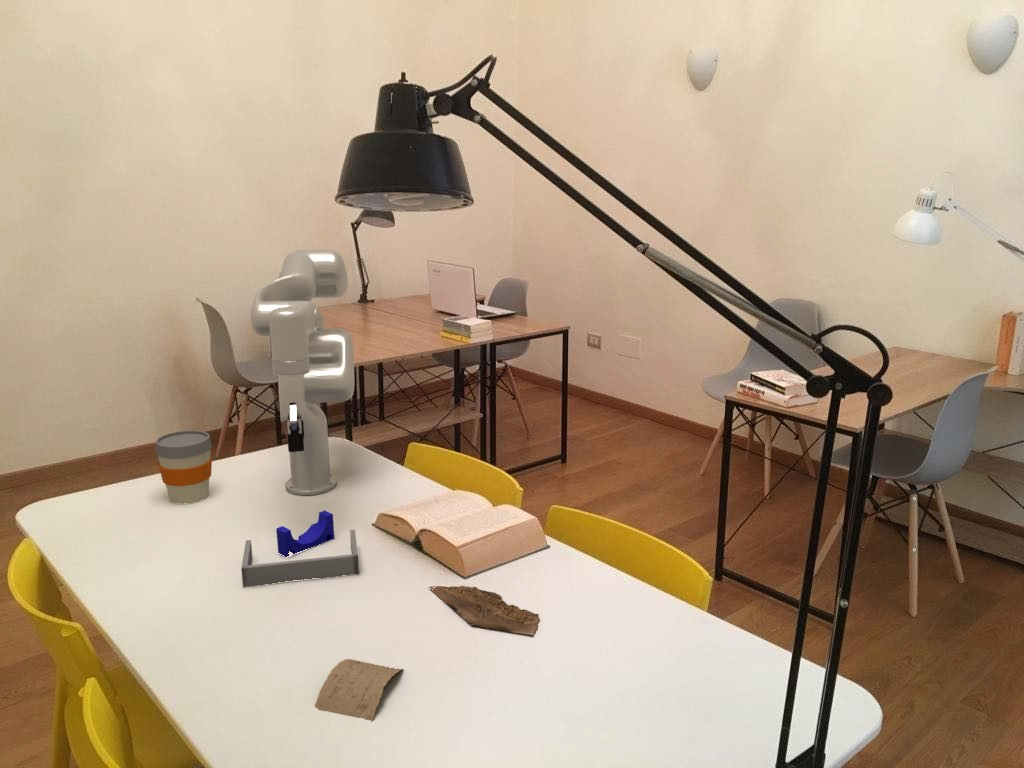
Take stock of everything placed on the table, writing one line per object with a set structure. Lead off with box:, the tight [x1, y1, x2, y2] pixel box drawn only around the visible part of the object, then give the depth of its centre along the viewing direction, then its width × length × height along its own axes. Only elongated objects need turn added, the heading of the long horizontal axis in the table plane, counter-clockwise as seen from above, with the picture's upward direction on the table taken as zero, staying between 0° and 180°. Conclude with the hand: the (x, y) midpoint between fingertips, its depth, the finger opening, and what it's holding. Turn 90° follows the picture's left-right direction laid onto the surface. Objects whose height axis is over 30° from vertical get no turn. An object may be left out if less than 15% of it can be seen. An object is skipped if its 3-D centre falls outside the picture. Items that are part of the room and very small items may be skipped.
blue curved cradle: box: [276, 510, 335, 558], centre depth 168 cm, size 12×4×6 cm, turn 138°
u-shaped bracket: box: [240, 529, 360, 588], centre depth 160 cm, size 12×22×4 cm, turn 104°
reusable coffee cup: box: [155, 430, 213, 505], centre depth 191 cm, size 13×13×15 cm
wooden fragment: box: [428, 585, 540, 638], centre depth 145 cm, size 26×11×1 cm, turn 48°
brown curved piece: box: [314, 658, 404, 722], centre depth 123 cm, size 14×10×3 cm
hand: (296, 444), depth 172 cm, fingers open, 7 cm apart
